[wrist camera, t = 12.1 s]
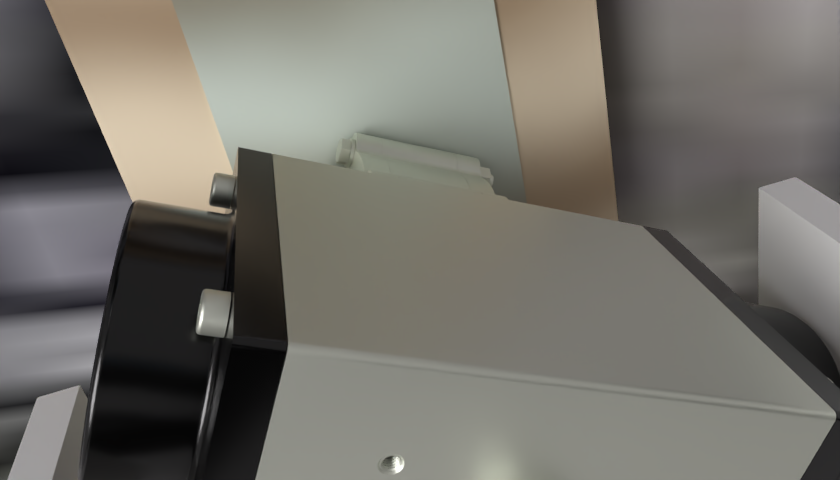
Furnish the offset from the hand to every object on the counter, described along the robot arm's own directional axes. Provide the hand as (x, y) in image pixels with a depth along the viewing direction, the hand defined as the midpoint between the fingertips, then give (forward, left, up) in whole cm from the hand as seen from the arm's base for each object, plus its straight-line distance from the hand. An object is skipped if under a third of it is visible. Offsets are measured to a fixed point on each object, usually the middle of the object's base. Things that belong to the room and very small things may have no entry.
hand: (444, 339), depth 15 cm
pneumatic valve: (0, 0, -6) cm, 6 cm away
